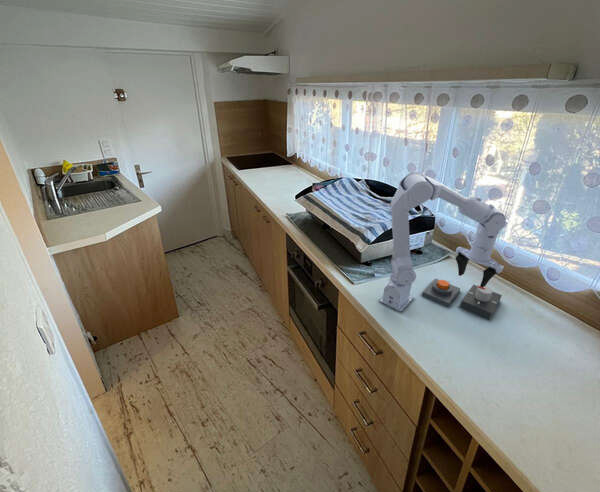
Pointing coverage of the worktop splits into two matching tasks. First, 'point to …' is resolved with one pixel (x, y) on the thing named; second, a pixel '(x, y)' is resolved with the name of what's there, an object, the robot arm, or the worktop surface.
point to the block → (441, 293)
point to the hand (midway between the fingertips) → (471, 280)
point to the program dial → (483, 293)
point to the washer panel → (480, 303)
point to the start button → (443, 284)
